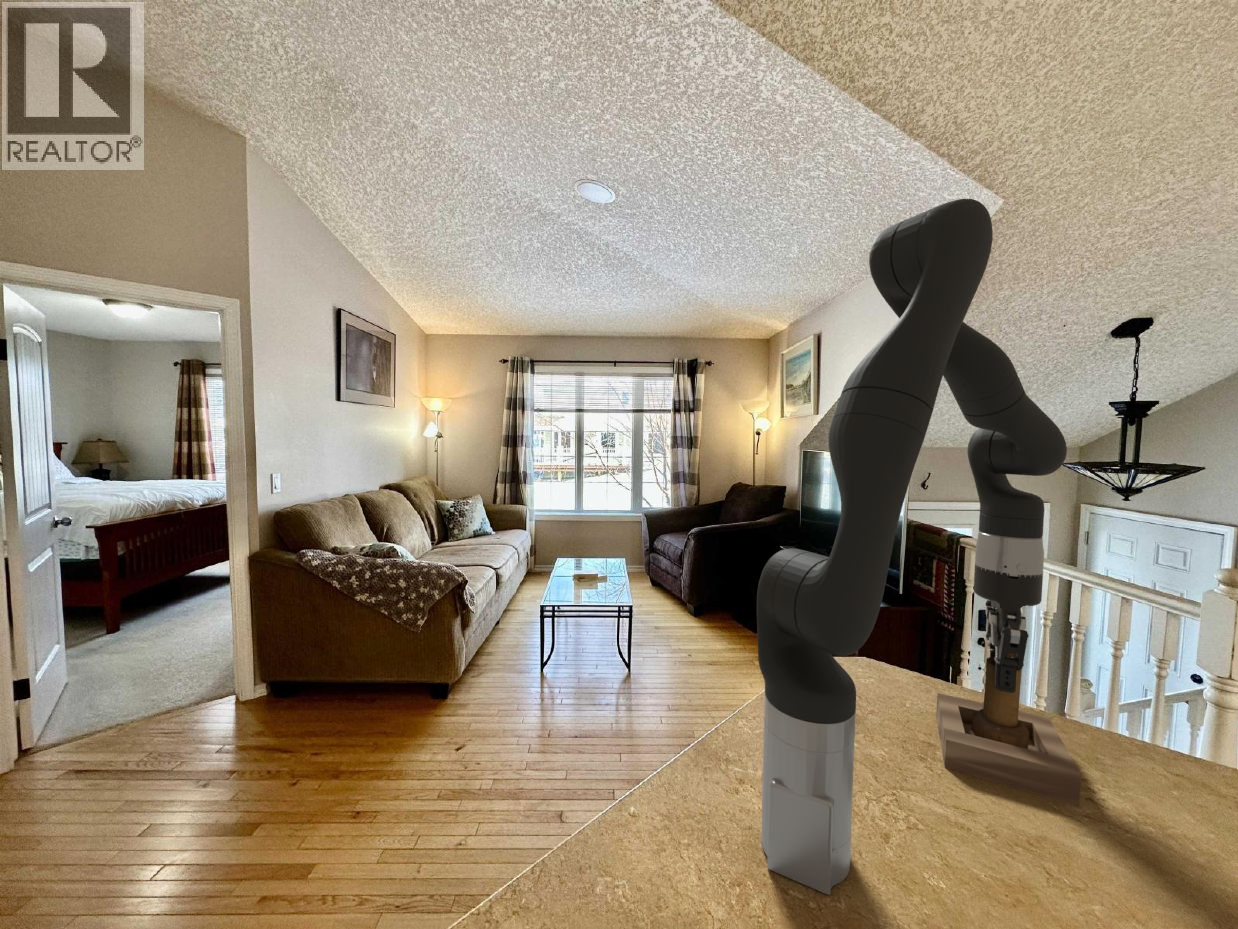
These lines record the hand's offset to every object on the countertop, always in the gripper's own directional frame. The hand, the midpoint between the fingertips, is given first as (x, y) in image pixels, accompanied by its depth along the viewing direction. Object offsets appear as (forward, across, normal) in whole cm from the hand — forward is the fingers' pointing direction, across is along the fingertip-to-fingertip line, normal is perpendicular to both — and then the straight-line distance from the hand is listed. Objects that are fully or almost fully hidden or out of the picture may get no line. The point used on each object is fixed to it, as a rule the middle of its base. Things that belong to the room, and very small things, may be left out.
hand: (1001, 682), depth 69 cm
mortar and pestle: (+8, 0, 0) cm, 8 cm away
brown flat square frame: (+11, 0, 0) cm, 11 cm away
